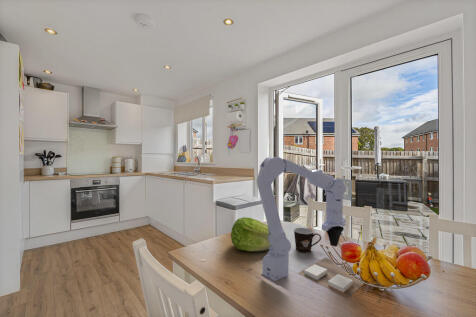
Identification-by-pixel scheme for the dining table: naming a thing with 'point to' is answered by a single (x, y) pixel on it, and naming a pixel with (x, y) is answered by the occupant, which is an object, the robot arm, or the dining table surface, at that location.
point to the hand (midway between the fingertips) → (333, 245)
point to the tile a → (315, 272)
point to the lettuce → (250, 235)
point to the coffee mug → (304, 239)
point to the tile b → (340, 283)
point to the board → (333, 271)
